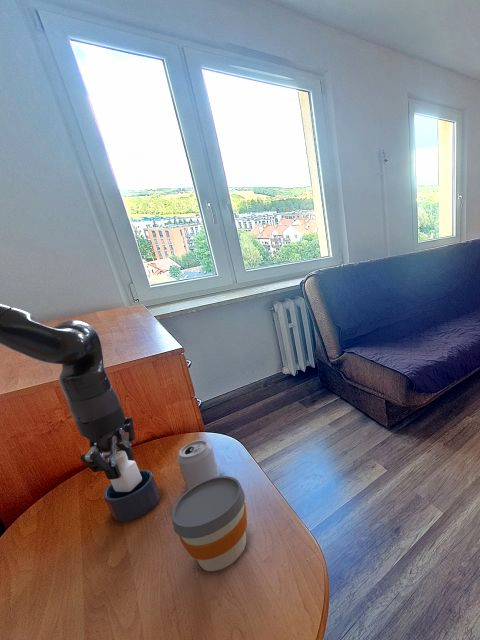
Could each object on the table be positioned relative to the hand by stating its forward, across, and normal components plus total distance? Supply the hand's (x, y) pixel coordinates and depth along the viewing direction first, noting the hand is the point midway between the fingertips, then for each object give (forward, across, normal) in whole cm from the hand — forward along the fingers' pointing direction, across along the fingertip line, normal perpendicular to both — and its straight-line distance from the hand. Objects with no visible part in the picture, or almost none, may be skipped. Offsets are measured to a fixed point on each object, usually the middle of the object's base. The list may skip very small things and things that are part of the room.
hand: (122, 469), depth 79 cm
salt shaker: (+6, 0, 0) cm, 6 cm away
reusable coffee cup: (+12, +17, +25) cm, 32 cm away
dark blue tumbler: (+12, 0, 0) cm, 12 cm away
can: (+12, -4, +14) cm, 19 cm away
